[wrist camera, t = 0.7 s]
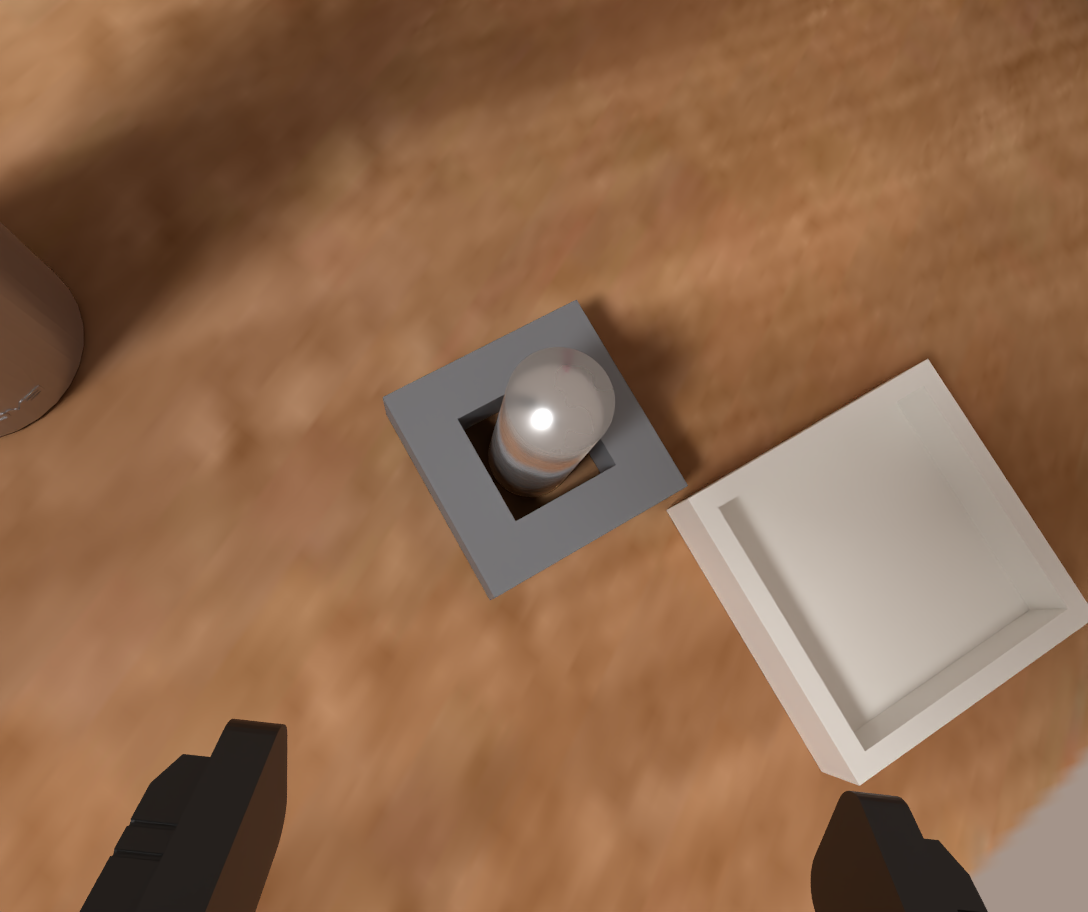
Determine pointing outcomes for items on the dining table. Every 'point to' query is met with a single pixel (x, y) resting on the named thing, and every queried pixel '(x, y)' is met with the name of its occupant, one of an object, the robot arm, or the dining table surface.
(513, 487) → the pin
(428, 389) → the socket block
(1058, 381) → the dining table surface
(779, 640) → the tray
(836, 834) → the robot arm
